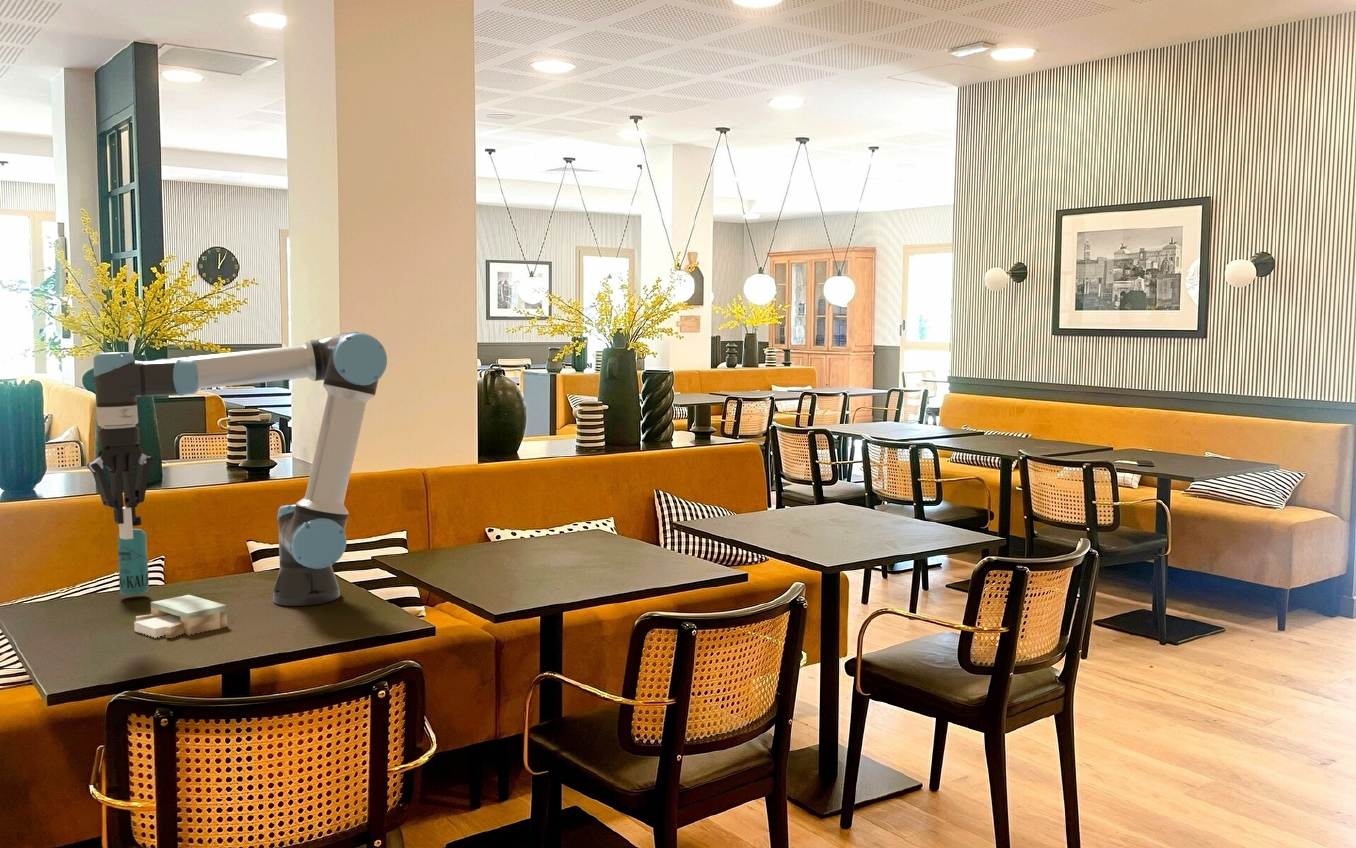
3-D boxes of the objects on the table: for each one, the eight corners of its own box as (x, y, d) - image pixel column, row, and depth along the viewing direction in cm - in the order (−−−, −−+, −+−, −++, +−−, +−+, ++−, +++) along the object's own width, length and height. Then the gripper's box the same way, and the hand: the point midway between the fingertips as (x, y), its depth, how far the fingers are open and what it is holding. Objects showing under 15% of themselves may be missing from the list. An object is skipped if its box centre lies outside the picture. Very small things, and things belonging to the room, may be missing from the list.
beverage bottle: (126, 595, 259) (122, 514, 258) (154, 594, 260) (151, 513, 258) (114, 601, 253) (110, 518, 251) (143, 601, 253) (139, 518, 252)
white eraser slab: (155, 638, 221) (154, 628, 221) (134, 631, 227) (134, 622, 227) (210, 625, 231) (210, 616, 231) (189, 619, 236) (189, 610, 236)
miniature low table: (169, 639, 220) (168, 617, 220) (133, 627, 230) (132, 605, 230) (227, 626, 230) (226, 605, 230) (189, 615, 240) (188, 594, 240)
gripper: (94, 430, 213) (103, 545, 215) (158, 424, 224) (166, 534, 226) (77, 428, 218) (85, 542, 220) (140, 423, 228) (148, 531, 230)
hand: (126, 538), depth 223 cm, fingers closed
